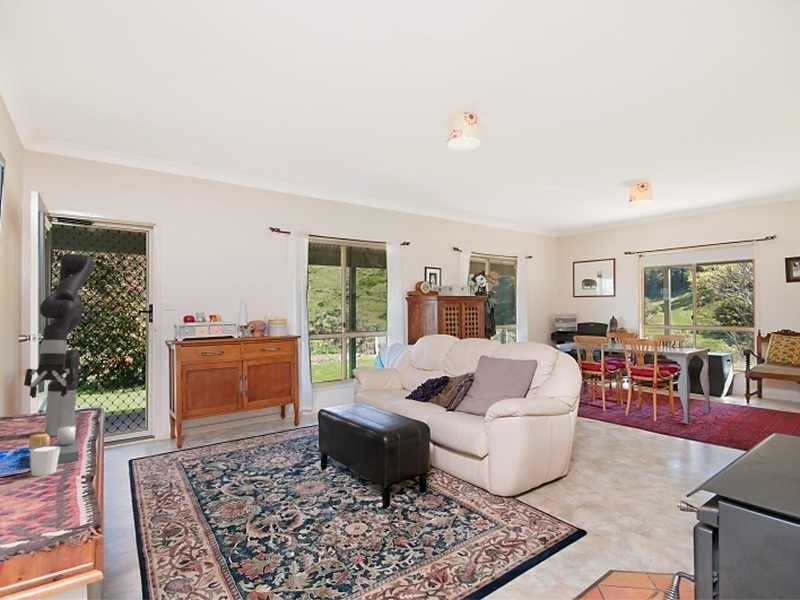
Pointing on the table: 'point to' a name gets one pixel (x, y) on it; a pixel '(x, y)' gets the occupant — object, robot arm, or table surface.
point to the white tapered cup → (44, 460)
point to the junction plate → (62, 445)
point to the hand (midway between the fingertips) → (48, 397)
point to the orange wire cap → (36, 439)
